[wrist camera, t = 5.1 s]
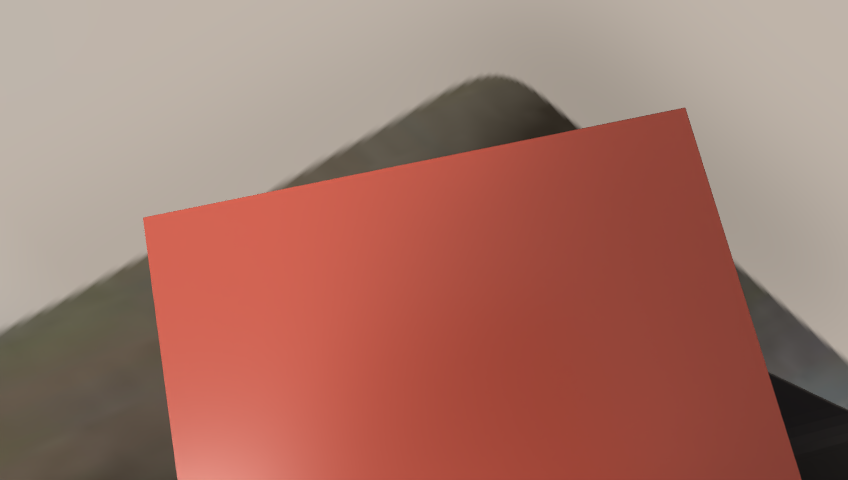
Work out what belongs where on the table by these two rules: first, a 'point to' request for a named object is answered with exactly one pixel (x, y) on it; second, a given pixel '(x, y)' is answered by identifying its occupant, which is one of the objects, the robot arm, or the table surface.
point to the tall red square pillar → (470, 322)
